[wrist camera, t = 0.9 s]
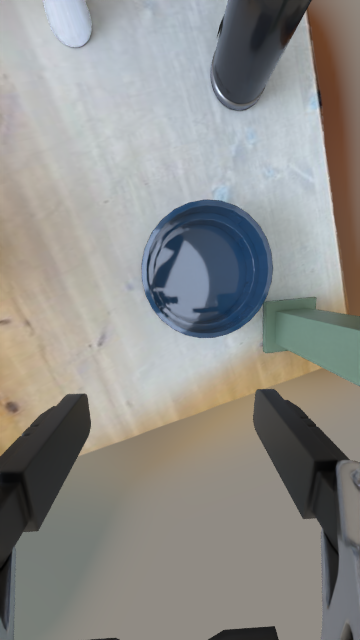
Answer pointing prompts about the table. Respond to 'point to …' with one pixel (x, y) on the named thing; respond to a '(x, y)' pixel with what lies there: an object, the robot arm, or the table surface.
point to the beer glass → (69, 21)
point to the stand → (314, 335)
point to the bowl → (207, 268)
